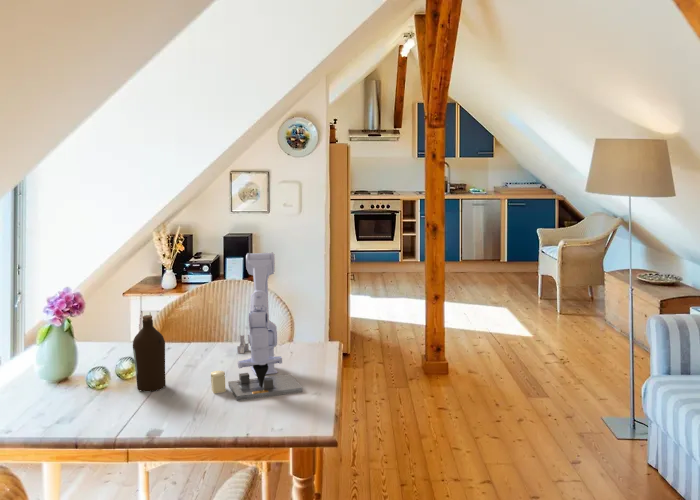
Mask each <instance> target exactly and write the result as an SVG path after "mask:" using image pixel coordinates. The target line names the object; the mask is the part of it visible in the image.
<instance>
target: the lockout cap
mask: <svg viewBox="0 0 700 500" xmlns="http://www.w3.org/2000/svg"><path fill="white" fill-rule="evenodd" d="M210 380H211V381H210V382H211V391H212V393H213V394H219V393H222V394H223V393H226V389H227V388H226V373H225V371H224V370H214V371H211V372H210Z"/></svg>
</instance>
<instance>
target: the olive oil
mask: <svg viewBox="0 0 700 500" xmlns="http://www.w3.org/2000/svg"><path fill="white" fill-rule="evenodd" d="M132 350H133V351H132V353H133V359H134V361H133V362H134V369H135V376H136V377H135V379H136V380H135V381H136V388H137V390H138V391H140V390H141V391H140V392H144V391H151V392H156V390H157V391H160V389H161V390H162V389H165V387H166V340H165V337H164V336H163V335H162V333H161V332H159V330H157V328H155V327H154V321H153V315H150V314H148V315H147V314H146V315H143V316H142V327H141V329H140V330H139V331H138V333H137V334H136V335H135V336H134V338H133V341H132Z"/></svg>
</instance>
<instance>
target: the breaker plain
mask: <svg viewBox="0 0 700 500" xmlns="http://www.w3.org/2000/svg"><path fill="white" fill-rule="evenodd" d="M238 376H239V382H240V383H241V384H244V383H250V379H251V378H250V373H249V372H244V373H238Z"/></svg>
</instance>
